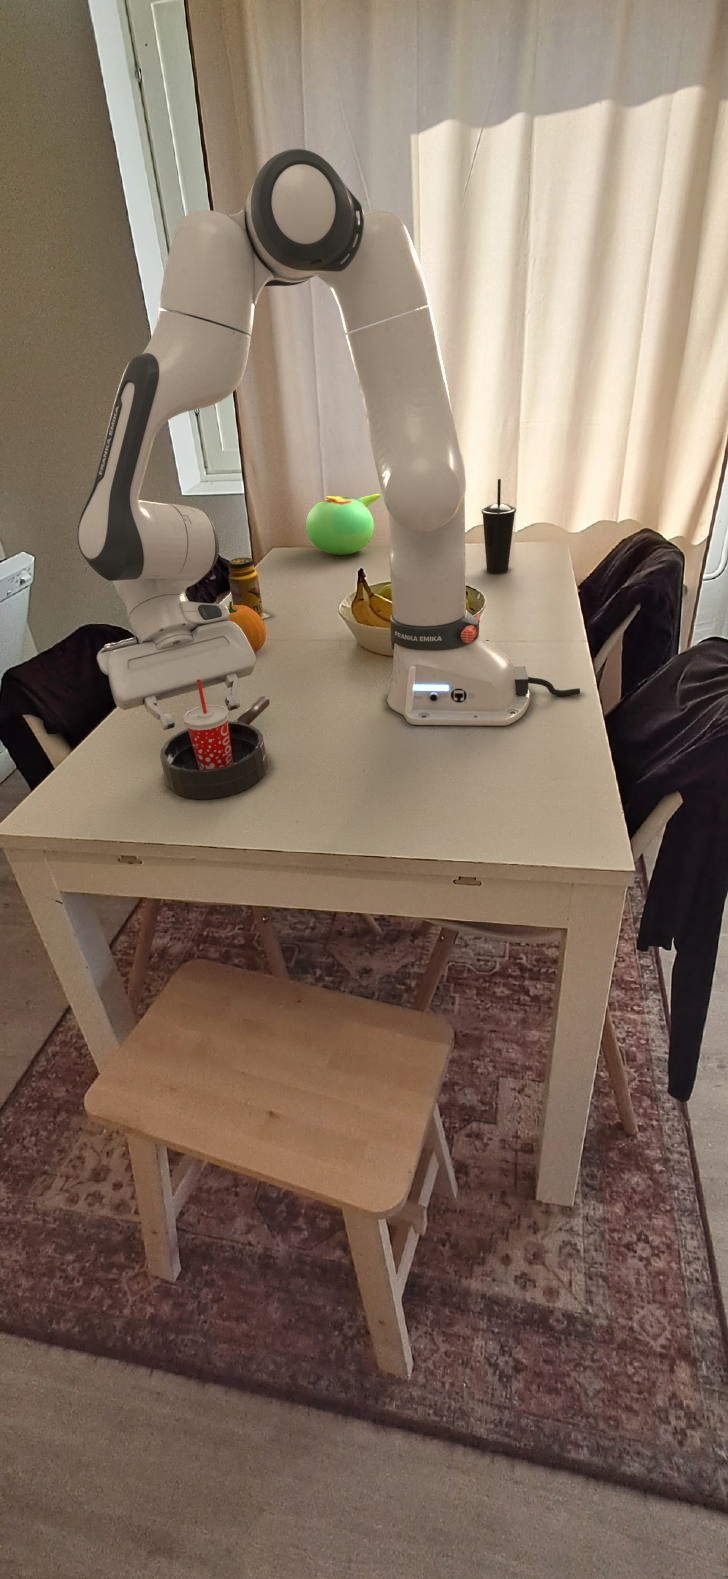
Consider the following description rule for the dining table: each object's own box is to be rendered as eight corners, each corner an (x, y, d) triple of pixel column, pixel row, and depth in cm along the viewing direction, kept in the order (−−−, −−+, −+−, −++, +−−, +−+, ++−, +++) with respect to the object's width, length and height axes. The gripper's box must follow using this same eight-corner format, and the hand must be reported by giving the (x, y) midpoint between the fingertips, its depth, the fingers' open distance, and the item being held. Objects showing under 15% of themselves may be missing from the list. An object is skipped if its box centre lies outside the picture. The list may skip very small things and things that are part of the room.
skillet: (284, 754, 111) (280, 726, 109) (237, 806, 100) (232, 777, 98) (200, 743, 116) (194, 717, 114) (147, 792, 105) (139, 764, 103)
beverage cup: (218, 786, 104) (199, 693, 97) (186, 776, 108) (165, 685, 100) (247, 765, 109) (231, 675, 101) (215, 756, 112) (197, 667, 104)
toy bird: (296, 556, 200) (289, 498, 192) (339, 540, 211) (334, 484, 203) (348, 565, 190) (342, 504, 182) (390, 548, 200) (387, 489, 192)
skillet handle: (242, 735, 112) (240, 724, 111) (231, 734, 112) (229, 723, 111) (272, 705, 119) (270, 694, 118) (262, 704, 120) (260, 693, 119)
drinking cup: (516, 574, 174) (519, 481, 163) (482, 576, 174) (483, 484, 164) (511, 564, 180) (514, 474, 170) (479, 567, 181) (479, 477, 170)
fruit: (233, 637, 153) (225, 588, 148) (280, 645, 148) (273, 594, 142) (194, 659, 145) (184, 608, 140) (242, 668, 140) (233, 615, 134)
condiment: (270, 616, 162) (262, 560, 156) (234, 627, 159) (224, 569, 152) (255, 608, 168) (247, 553, 161) (220, 618, 164) (210, 562, 158)
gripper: (91, 637, 100) (128, 731, 98) (236, 602, 108) (273, 689, 106) (92, 658, 106) (127, 747, 104) (230, 624, 114) (265, 706, 112)
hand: (202, 717), depth 105 cm, fingers open, 8 cm apart
